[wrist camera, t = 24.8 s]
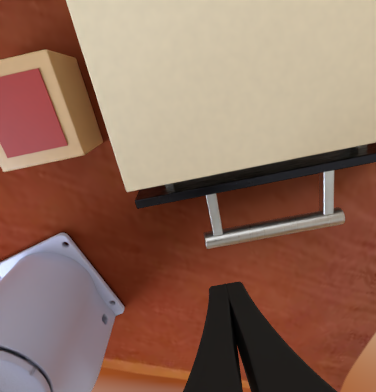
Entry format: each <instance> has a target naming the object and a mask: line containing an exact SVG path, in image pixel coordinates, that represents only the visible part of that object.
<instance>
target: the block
mask: <svg viewBox="0 0 376 392" xmlns="http://www.w3.org/2000/svg"><path fill="white" fill-rule="evenodd" d="M101 143H103V139H102V136H101V133H100V130H99V127H98V124H97V121H96V118H95V115H94V111H93V108H92V105H91V102H90V99H89V96H88V93H87V90H86V87H85V84H84V81H83V78H82V75H81V72H80V69H79V66H78V62H77V59H76V58H74V57H71V56H68V55H64V54H61V53H57V52H54V51H50V50H47V49H44V50H40V51H36V52H31V53H27V54H23V55H18V56H14V57H10V58H6V59H1V60H0V166H1V168H2V170H3V172H7V171H12V170H17V169H21V168H26V167H31V166H36V165H41V164H45V163H50V162H55V161H60V160H65V159H69V158H74V157H79V156H84V155H85V154H87V153H88V152H90V151H91V150H93V149H94V148H96V147H97V146H99V145H100V144H101Z"/></svg>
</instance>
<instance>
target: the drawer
mask: <svg viewBox="0 0 376 392" xmlns="http://www.w3.org/2000/svg"><path fill="white" fill-rule="evenodd" d="M373 162H376V143H371V144H366V145H361V146H356V147H351V148H346V149H341V150H336V151H331V152H326V153H321V154H316V155H311V156H306V157H301V158H296V159H291V160H286V161H281V162H276V163H271V164H266V165H261V166H256V167H251V168H246V169H241V170H236V171H231V172H226V173H221V174H216V175H211V176H206V177H201V178H196V179H191V180H186V181H181V182H176V183H171V184H166V185H161V186H156V187H151V188H146V189H141V190H139V192H138V194H137V197H136V199H135V204H136V207H137V209H139V208H144V207H149V206H154V205H159V204H164V203H169V202H174V201H179V200H185V199H190V198H195V197H200V196H205V195H206V201H207V206H208V211H209V216H210V222H211V227H212V231H209V232H204V239H205V245H206V248H207V249H211V248H216V247H222V246H227V245H232V244H238V243H243V242H249V241H254V240H260V239H265V238H270V237H276V236H281V235H287V234H292V233H297V232H303V231H308V230H314V229H319V228H324V227H330V226H335V225H341V224H343V223H344V222H345V215H344V212H343V210H342V209H341V208H339V207H336V208H334V170H338V169H343V168H348V167H353V166H358V165H363V164H368V163H373ZM317 173H319V211H315V212H310V213H304V214H299V215H294V216H288V217H283V218H278V219H272V220H267V221H262V222H257V223H251V224H246V225H241V226H235V227H230V228H225V229H222V224H221V218H220V212H219V207H218V201H217V195H216V193H220V192H225V191H231V190H236V189H241V188H246V187H251V186H256V185H261V184H266V183H271V182H276V181H282V180H287V179H292V178H297V177H302V176H307V175H312V174H317Z"/></svg>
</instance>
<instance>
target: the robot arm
mask: <svg viewBox="0 0 376 392" xmlns="http://www.w3.org/2000/svg"><path fill="white" fill-rule="evenodd" d="M64 242H67V243H68V244H69V245H66V244H65V243H64ZM112 301H114V302H112ZM123 312H124V305H123V304H122V303H121V301H120V300H119V299H118V298H117V296H116V295H115V294H114V293H113V291H112V290H111V289H110V288H109V286H108V285H107V284H106V282H105V281H104V280H103V279H102V277H101V276H100V275H99V274H98V272H97V271H96V270H95V268H94V267H93V266H92V265H91V263H90V262H89V261H88V260H87V258H86V257H85V256H84V255H83V253H82V252H81V251H80V249H79V248H78V247H77V246H76V244H75V243H74V242H73V241H72V239H71V238H70V237H69V235H67V234H66V233H59V234H57V235H55V236H53V237H51V238H49V239H47V240H44V241H42V242H40V243H38V244H36V245H34V246H32V247H30V248H28V249H26V250H24V251H22V252H20V253H18V254H16V255H14V256H11V257H9V258H7V259H5V260H3V261H1V262H0V392H91V391H92V389H93V387H94V385H95V383H96V380H97V378H98V375H99V372H100V369H101V365H102V362H103V358H104V355H105V351H106V348H107V344H108V341H109V337H110V334H111V331H112V327H113V324H114V320H115V317H116V316H117V315H119V314H122V313H123ZM237 346H238V349H239V353H240V356H241V359H242V363H243V366H244V369H245V373H246V376H247V379H248V382H249V386H250V389H251V392H337V391H336V390H335V389H333V388H332V387H331V386H330V385H329V384H328V383H327V382H325V381H324V380H323V379H322V378H321V377H320V376H319V375H317V374H316V373H315V372H314V371H313V370H312V369H311V368H310V367H309V366H308V365H307V364H306V363H305V362H304V361H303V360H302V359H301V358H300V357H299V356H298V355H297V354H296V353H295V352H294V351H293V350H292V349H291V348H290V347H289V346H288V344H287V343H286V342H285V341H284V340H283V339H282V338H281V337H280V335H279V334H278V333H277V332H276V331H275V330H274V328H273V327H272V326H271V325H270V324H269V322H268V321H267V320H266V318H265V317H264V316H263V315H262V313H261V312H260V311H259V309H258V308H257V307H256V305H255V304H254V302H253V301H252V299H251V298H250V296H249V295H248V293H247V291H246V289H245V288H244V286H243V284H242V283H241V282H234V283H228V284H223V285H217V286H211V287H210V289H209V303H208V310H207V316H206V321H205V326H204V330H203V334H202V338H201V341H200V345H199V349H198V352H197V355H196V358H195V362H194V364H193V367H192V370H191V373H190V376H189V378H188V381H187V383H186V386H185V389H184V391H183V392H243V390H242V382H241V374H240V366H239V358H238V349H237Z"/></svg>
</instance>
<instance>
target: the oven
mask: <svg viewBox="0 0 376 392" xmlns="http://www.w3.org/2000/svg"><path fill="white" fill-rule="evenodd" d="M66 2H67V5H68V9H69V12H70V15H71V18H72V21H73V24H74V28H75V31H76V34H77V37H78V40H79V43H80V47H81V50H82V53H83V56H84V59H85V62H86V66H87V69H88V72H89V75H90V78H91V81H92V85H93V88H94V91H95V94H96V97H97V100H98V104H99V107H100V110H101V113H102V116H103V119H104V123H105V126H106V129H107V132H108V135H109V138H110V142H111V145H112V148H113V151H114V154H115V157H116V161H117V164H118V167H119V170H120V173H121V176H122V180H123V183H124V186H125V189H126V191H127V192H131V191H136V190H141V189H146V188H151V187H156V186H161V185H166V184H171V183H176V182H181V181H186V180H191V179H196V178H201V177H206V176H211V175H216V174H221V173H226V172H231V171H236V170H241V169H246V168H251V167H256V166H261V165H266V164H271V163H276V162H281V161H286V160H291V159H296V158H301V157H306V156H311V155H316V154H321V153H326V152H331V151H336V150H341V149H346V148H351V147H356V146H361V145H366V144H371V143H376V0H66Z"/></svg>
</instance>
